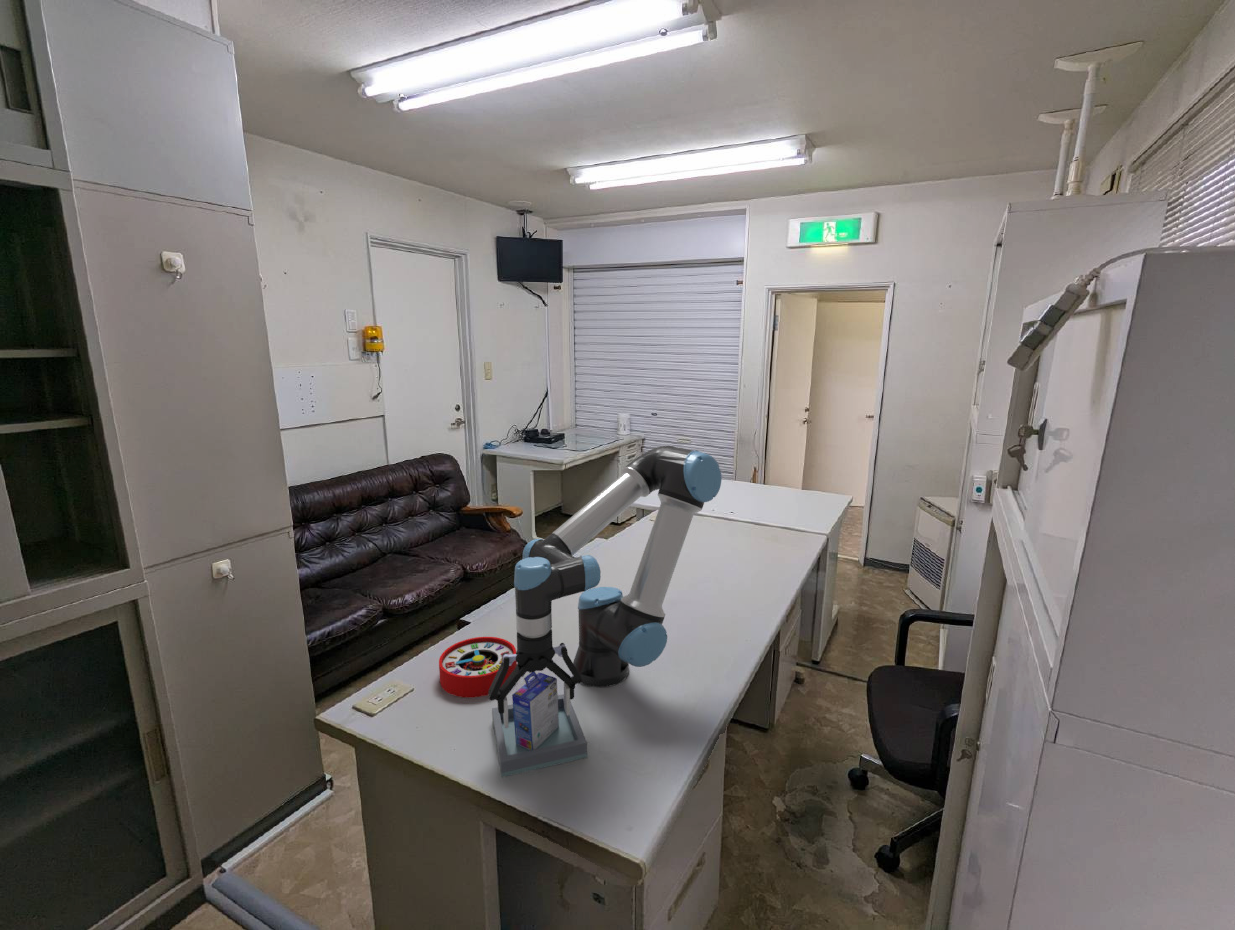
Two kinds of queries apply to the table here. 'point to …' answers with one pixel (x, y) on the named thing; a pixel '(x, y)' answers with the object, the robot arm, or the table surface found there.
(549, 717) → the ink cartridge box
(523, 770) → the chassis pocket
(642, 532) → the table surface
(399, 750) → the table surface
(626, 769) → the table surface
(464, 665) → the toy clock
